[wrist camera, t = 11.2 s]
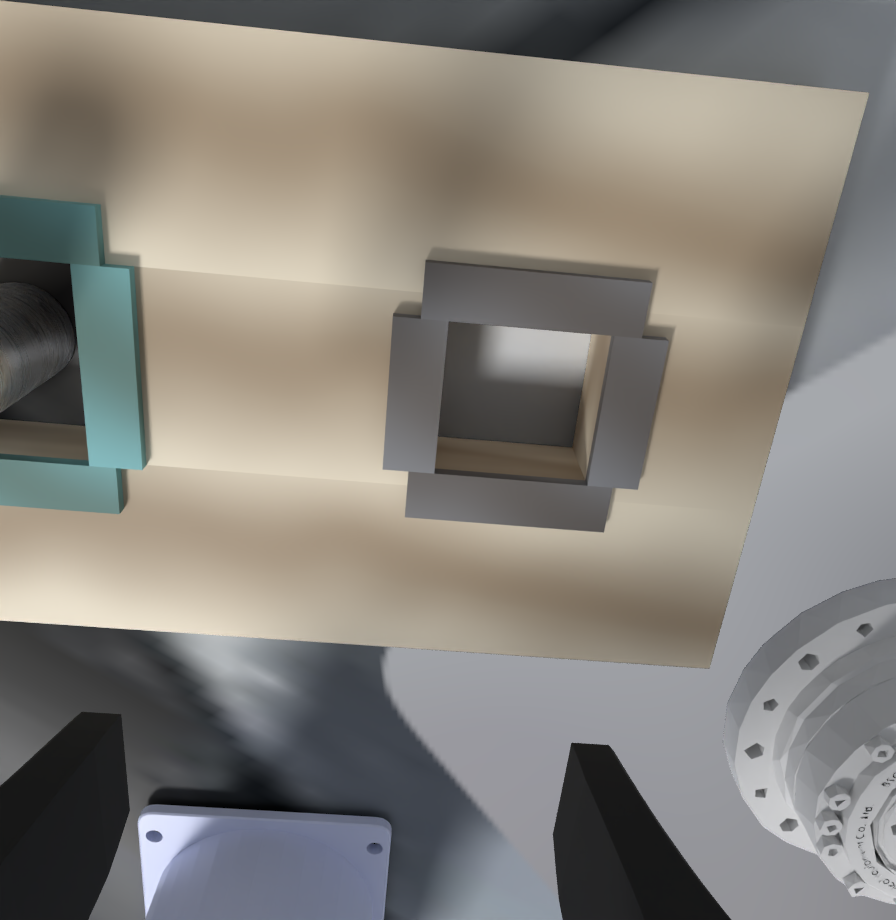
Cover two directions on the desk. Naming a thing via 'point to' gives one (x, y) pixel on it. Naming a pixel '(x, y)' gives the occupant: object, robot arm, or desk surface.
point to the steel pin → (31, 340)
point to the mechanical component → (825, 736)
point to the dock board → (398, 332)
